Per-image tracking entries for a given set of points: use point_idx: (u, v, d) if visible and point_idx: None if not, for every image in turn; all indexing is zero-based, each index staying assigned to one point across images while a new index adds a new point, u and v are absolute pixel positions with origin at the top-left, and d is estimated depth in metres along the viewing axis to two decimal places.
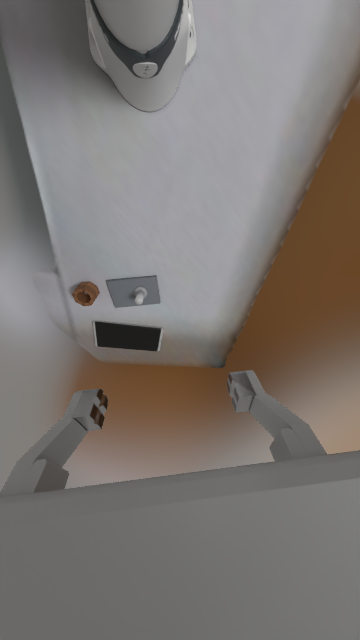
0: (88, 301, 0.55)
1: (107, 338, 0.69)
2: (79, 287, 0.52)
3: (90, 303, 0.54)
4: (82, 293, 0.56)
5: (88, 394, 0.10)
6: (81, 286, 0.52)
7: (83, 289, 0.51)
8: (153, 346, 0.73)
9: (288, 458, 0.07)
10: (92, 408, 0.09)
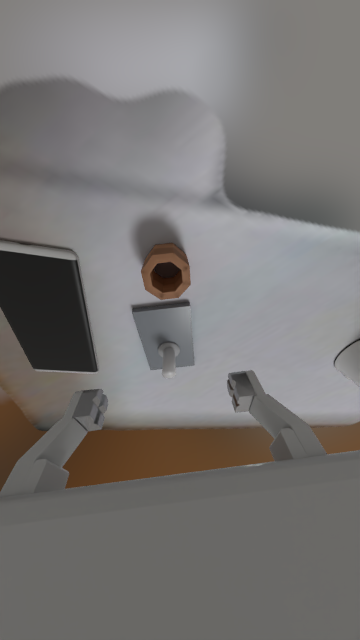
0: (152, 280, 0.23)
1: (24, 281, 0.25)
2: None
3: (150, 288, 0.22)
4: None
5: (88, 394, 0.10)
6: None
7: (187, 282, 0.22)
8: (45, 363, 0.35)
9: (288, 458, 0.07)
10: (92, 408, 0.09)
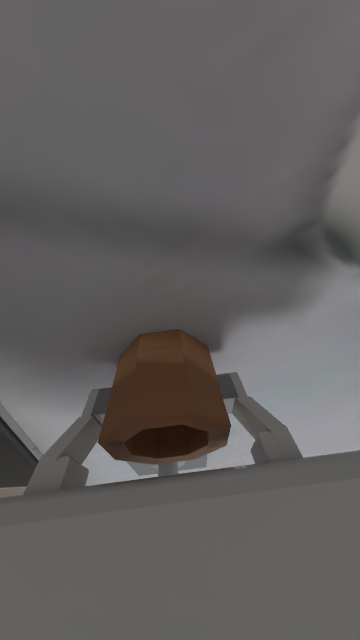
0: None
1: None
2: None
3: (127, 457, 0.09)
4: None
5: (105, 392, 0.10)
6: None
7: (220, 444, 0.09)
8: None
9: (265, 461, 0.07)
10: None
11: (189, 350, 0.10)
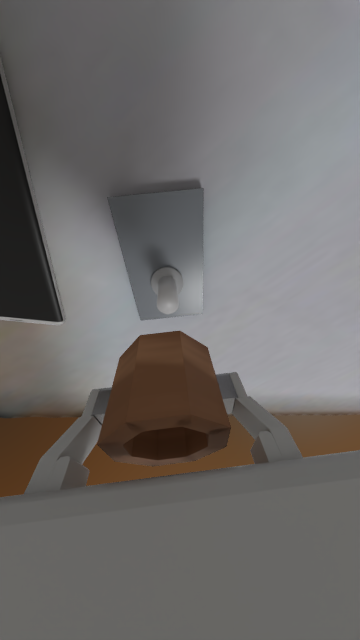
0: None
1: None
2: None
3: (127, 459, 0.09)
4: None
5: (105, 392, 0.10)
6: None
7: (220, 445, 0.09)
8: None
9: (265, 461, 0.07)
10: None
11: (189, 351, 0.10)
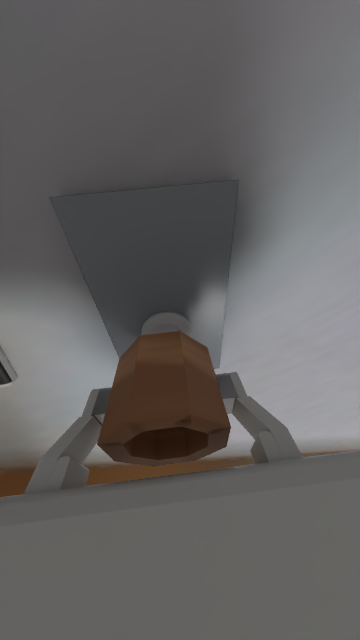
0: None
1: None
2: None
3: (127, 459, 0.09)
4: None
5: (105, 392, 0.10)
6: None
7: (220, 445, 0.09)
8: None
9: (265, 461, 0.07)
10: None
11: (189, 351, 0.10)
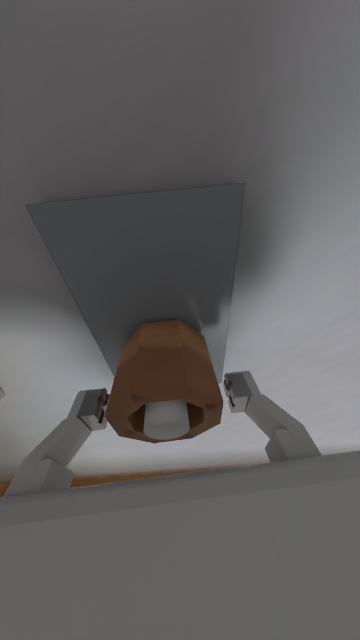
0: (135, 412, 0.10)
1: None
2: None
3: (130, 434, 0.10)
4: None
5: (92, 394, 0.10)
6: None
7: (214, 421, 0.10)
8: None
9: (282, 459, 0.07)
10: (96, 408, 0.09)
11: (186, 337, 0.11)
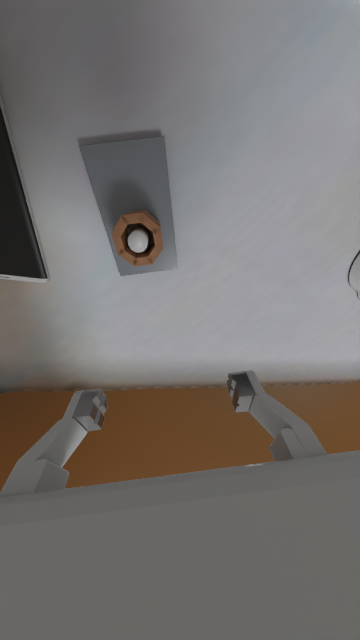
0: (124, 245, 0.22)
1: None
2: None
3: (122, 253, 0.22)
4: None
5: (88, 394, 0.10)
6: (161, 235, 0.23)
7: (160, 247, 0.22)
8: None
9: (288, 458, 0.07)
10: (92, 408, 0.09)
11: (148, 213, 0.23)
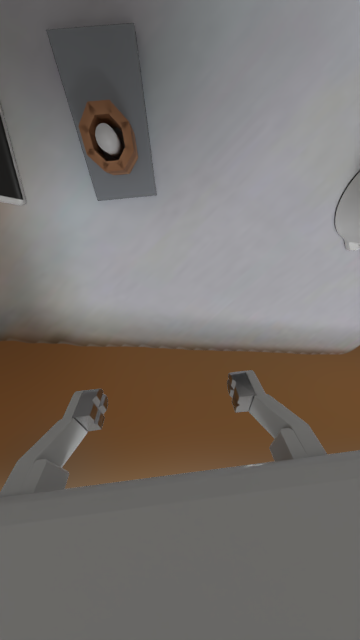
0: (94, 146, 0.22)
1: None
2: (131, 133, 0.21)
3: (92, 154, 0.22)
4: None
5: (88, 394, 0.10)
6: (133, 139, 0.22)
7: (130, 148, 0.22)
8: None
9: (288, 458, 0.07)
10: (92, 408, 0.09)
11: None
